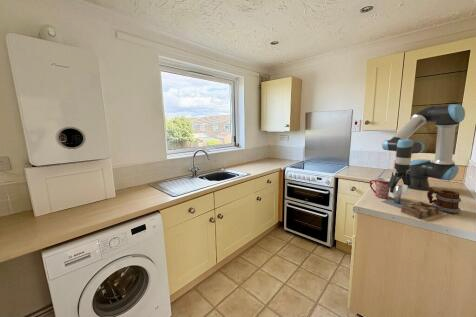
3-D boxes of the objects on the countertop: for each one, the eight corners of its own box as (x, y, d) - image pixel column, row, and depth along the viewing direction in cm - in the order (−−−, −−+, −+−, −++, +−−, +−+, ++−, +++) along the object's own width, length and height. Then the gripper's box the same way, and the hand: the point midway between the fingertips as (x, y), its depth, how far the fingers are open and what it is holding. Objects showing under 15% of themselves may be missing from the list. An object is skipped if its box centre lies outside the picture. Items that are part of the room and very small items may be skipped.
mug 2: (462, 216, 110) (460, 190, 110) (427, 212, 121) (425, 189, 120) (462, 210, 118) (460, 186, 117) (429, 207, 129) (427, 184, 128)
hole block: (419, 207, 124) (420, 201, 123) (438, 213, 115) (439, 207, 114) (400, 212, 118) (401, 206, 117) (418, 219, 109) (419, 212, 109)
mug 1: (390, 197, 141) (393, 179, 139) (387, 200, 135) (389, 182, 133) (370, 192, 150) (372, 175, 148) (366, 195, 144) (368, 178, 142)
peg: (396, 201, 132) (398, 184, 130) (401, 203, 129) (403, 186, 127) (393, 202, 131) (395, 185, 129) (398, 204, 128) (400, 186, 126)
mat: (394, 198, 138) (394, 198, 138) (414, 205, 127) (414, 204, 127) (380, 201, 134) (380, 201, 134) (400, 208, 123) (400, 208, 123)
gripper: (407, 160, 133) (403, 191, 137) (383, 164, 125) (379, 196, 129) (421, 163, 126) (416, 195, 130) (396, 166, 118) (391, 200, 122)
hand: (398, 195), depth 129 cm, fingers open, 11 cm apart
